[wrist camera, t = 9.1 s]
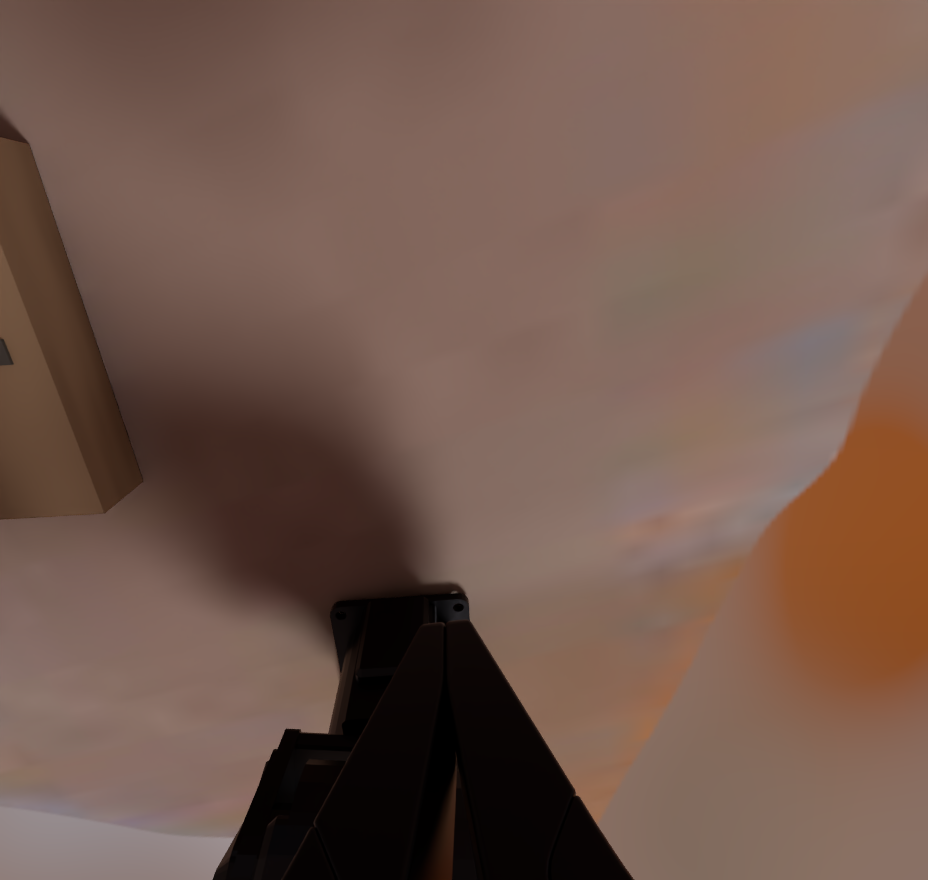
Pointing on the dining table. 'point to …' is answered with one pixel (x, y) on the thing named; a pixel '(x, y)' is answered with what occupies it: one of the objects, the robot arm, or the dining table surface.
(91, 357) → the brown flat block
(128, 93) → the dining table surface
